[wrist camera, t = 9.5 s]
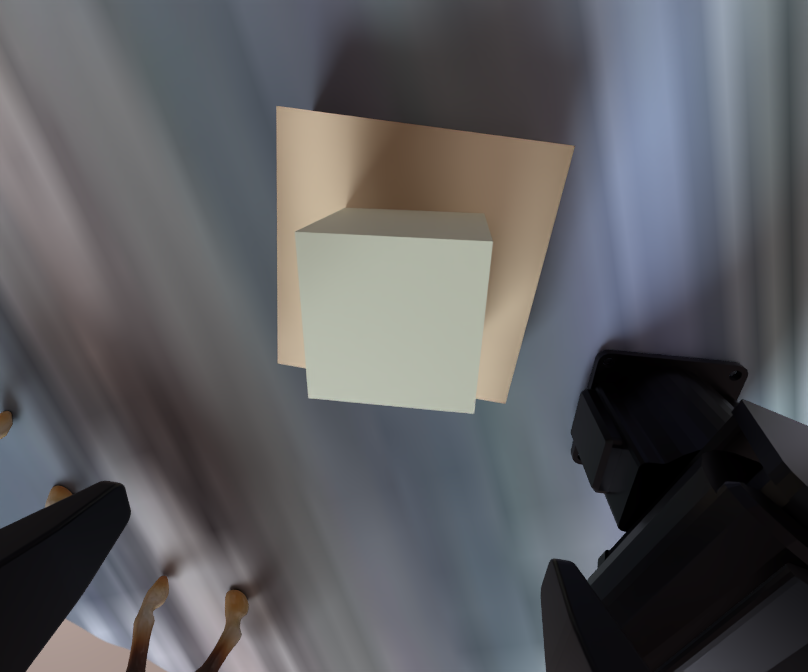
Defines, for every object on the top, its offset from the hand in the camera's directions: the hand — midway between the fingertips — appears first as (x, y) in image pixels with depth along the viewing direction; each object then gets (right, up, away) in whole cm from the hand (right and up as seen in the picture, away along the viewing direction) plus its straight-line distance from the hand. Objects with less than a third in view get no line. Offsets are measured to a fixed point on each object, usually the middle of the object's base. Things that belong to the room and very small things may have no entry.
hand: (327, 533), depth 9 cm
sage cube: (+2, +6, +7) cm, 10 cm away
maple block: (+2, +8, +11) cm, 14 cm away
